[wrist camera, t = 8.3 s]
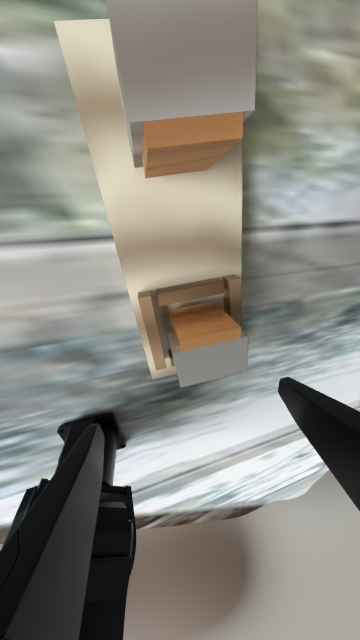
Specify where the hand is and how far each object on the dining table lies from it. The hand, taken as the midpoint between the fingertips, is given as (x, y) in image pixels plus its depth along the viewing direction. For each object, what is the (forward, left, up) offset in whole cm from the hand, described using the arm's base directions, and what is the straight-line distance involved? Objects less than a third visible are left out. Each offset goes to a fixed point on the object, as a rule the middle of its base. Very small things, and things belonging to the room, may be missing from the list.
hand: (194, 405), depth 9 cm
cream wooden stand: (+6, -2, -11) cm, 13 cm away
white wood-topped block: (0, -2, -10) cm, 10 cm away
